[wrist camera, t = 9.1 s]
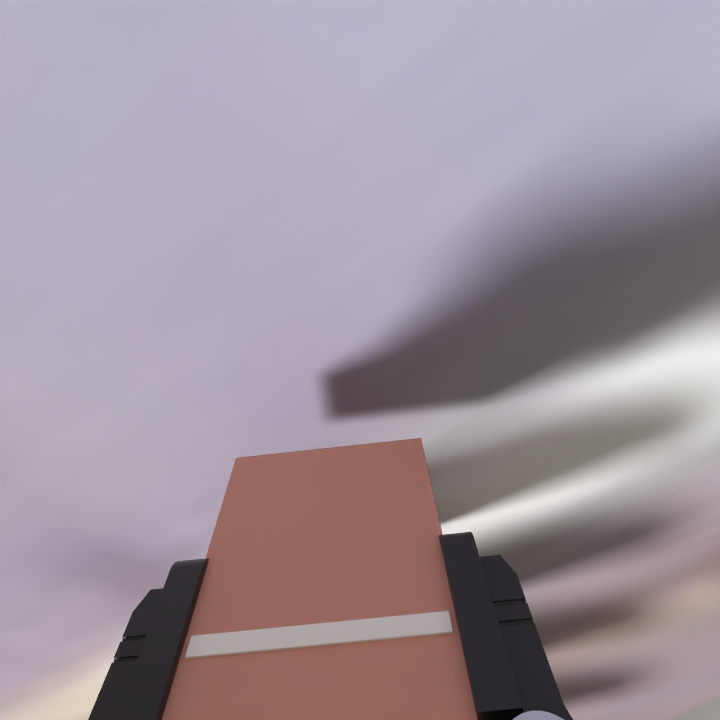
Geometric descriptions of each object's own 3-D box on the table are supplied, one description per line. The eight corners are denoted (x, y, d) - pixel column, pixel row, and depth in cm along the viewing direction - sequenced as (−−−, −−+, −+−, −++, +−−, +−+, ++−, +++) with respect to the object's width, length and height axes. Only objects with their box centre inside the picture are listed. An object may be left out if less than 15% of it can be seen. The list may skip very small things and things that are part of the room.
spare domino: (424, 488, 15) (579, 1249, 5) (250, 507, 15) (70, 1279, 5) (420, 436, 14) (599, 1235, 4) (235, 456, 14) (-14, 1273, 4)
